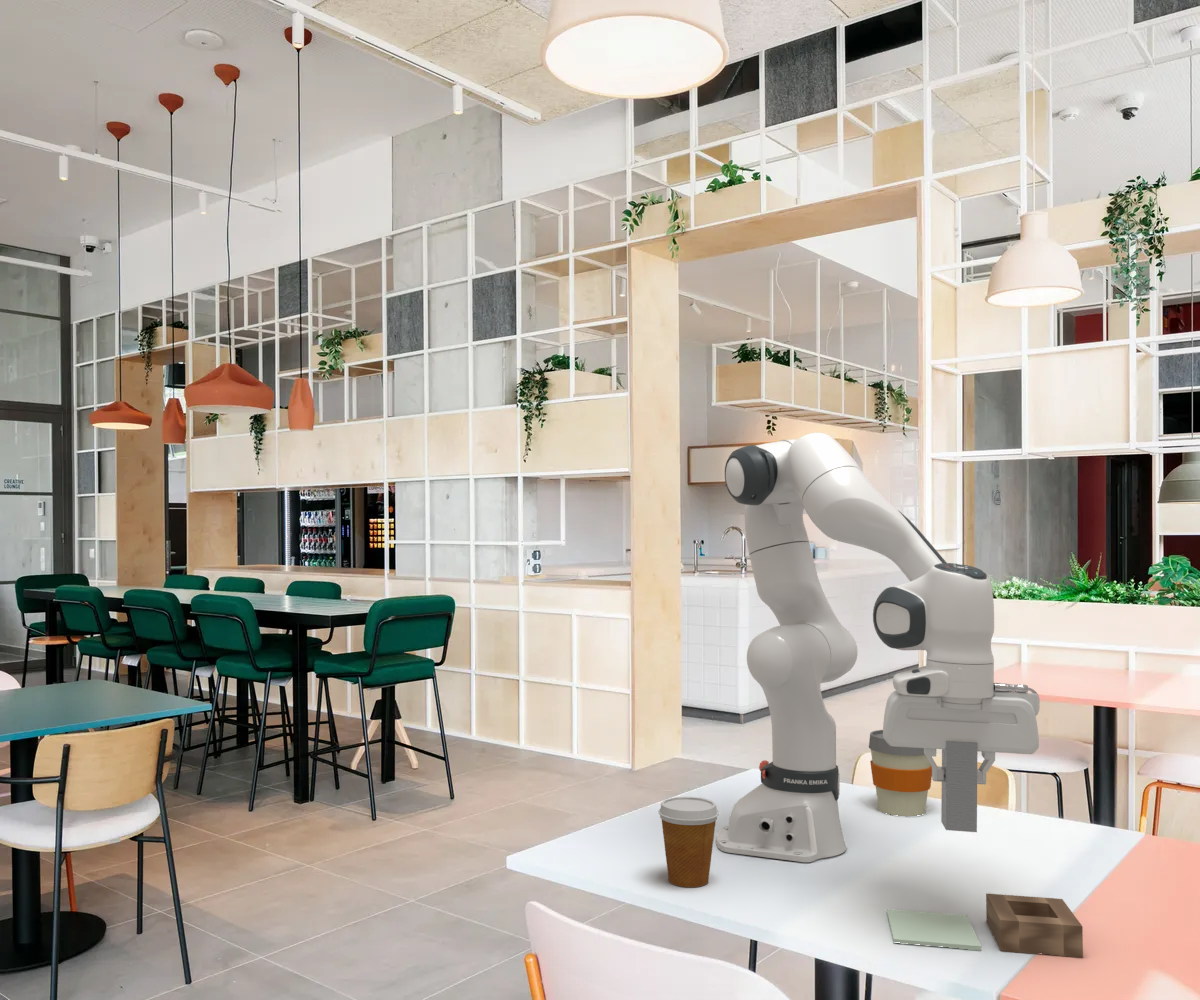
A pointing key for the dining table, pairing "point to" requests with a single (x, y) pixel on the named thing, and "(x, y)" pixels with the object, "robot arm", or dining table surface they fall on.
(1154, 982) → the dining table surface
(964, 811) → the peg
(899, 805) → the reusable coffee cup
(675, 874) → the disposable coffee cup
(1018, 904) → the socket block
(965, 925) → the mat
